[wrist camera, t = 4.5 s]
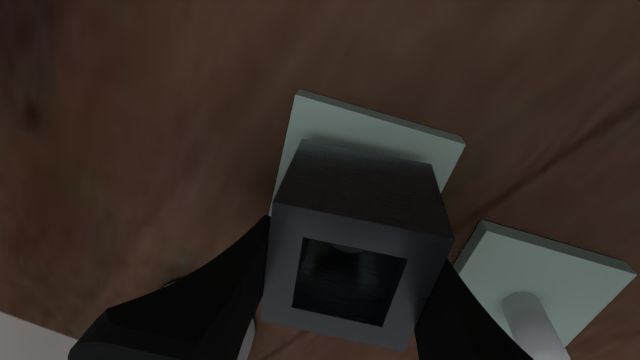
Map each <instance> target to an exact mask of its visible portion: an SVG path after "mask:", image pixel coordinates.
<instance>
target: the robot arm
mask: <svg viewBox="0 0 640 360" xmlns="http://www.w3.org/2000/svg"><path fill="white" fill-rule="evenodd" d="M270 220H271V216H268V215H265V216H263V217H262V218H261V219H260V220H259V221H258V222H257V223H256V224H255V225H254V226H253V227H252V228H251V229H250V230H249V231H248V232H247V233H246V234H244V235H243V236H242V237H241V238H240V239H239V240H237V241H236V242H235V243H234V244H233V245H231V246H230V247H229V248H228V249H226V250H225V251H224V252H222V253H221V254H220V255H218V256H217V257H216V258H214V259H213V260H211V261H210V262H208V263H207V264H205V265H204V266H202V267H200V268H199V269H197V270H196V271H194V272H192V273H190V274H189V275H187V276H185V277H183V278H181V279H179V280H178V281H176V282H174V283H172V284H170V285H168V286H165V287H163V288H161V289H159V290H156V291H154V292H152V293H149V294H147V295H144V296H142V297H139V298H136V299H134V300H131V301H128V302H125V303H122V304H119V305H116V306H113V307H110V308H107V309H106V310H105V312H104V313H103V314H101V315H100V316H99V317H98V318H97V319H96V320H95V321H94V323H93V324H92V325H91V326H90V327H89V328H88V329H87V331H86V332H85V333H84V334H83V335H82V337H81V338H80V339H79V340H78V341H77V343H76V344H75V345H74V346H73V347H72V348H71V350H70V352H69V355H68V360H237V358H238V355H239V352H240V349H241V346H242V343H243V340H244V337H245V335H246V332H247V330H248V327H249V325H250V323H251V321H252V318H253V316H254V314H255V312H256V309H257V307H258V305H259V303H260V300H261V298H262V296H263V290H264V280H265V270H266V260H267V250H268V240H269V230H270ZM414 330H415V337H416V343H417V349H418V356H419V360H534V359H533V358H532V357H531V356H530V355H528V354H527V353H526V352H525V351H524V350H523V349H522V348H521V347H520V346H519V345H518V344H517V343H516V342H515V341H514V340H513V339H512V338H511V337H510V336H509V335H508V334H507V333H506V332H505V331H504V330H503V329H502V328H501V327H500V326H499V325H498V324H497V322H496V321H495V320H494V319H493V318H492V317H491V316H490V314H489V313H488V312H487V311H486V310H485V308H484V307H483V306H482V305H481V304H480V302H479V301H478V300H477V299H476V297H475V296H474V295H473V294H472V292H471V291H470V290H469V288H468V287H467V286H466V284H465V283H464V281H463V280H462V279H461V277H460V276H459V275H458V273H457V272H456V270H455V269H454V267H453V266H452V265H451V263H450V262H449V260H448V259H447V258H446V260H445V263H444V265H443V267H442V269H441V271H440V274H439V276H438V278H437V280H436V282H435V285H434V287H433V289H432V291H431V293H430V296H429V298H428V300H427V302H426V304H425V307H424V309H423V311H422V313H421V315H420V318H419V320H418V322H417V324H416V326H415V329H414Z"/></svg>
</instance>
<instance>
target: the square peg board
mask: <svg viewBox="0 0 640 360" xmlns="http://www.w3.org/2000/svg"><path fill="white" fill-rule="evenodd" d="M453 267H454V269H455V270H456V272H457V273H458V275H459V276H460V277H461V279H462V280H463V281H464V283H465V284H466V286H467V287H468V288H469V290H470V291H471V292H472V294H473V295H474V296H475V297H476V299H477V300H478V301H479V302H480V304H481V305H482V306H483V307H484V308H485V310H486V311H487V312H488V313H489V314H490V316H491V317H492V318H493V319H494V320H495V321H496V322H497V324H498V325H499V326H500V327H501V328H502V329H503V330H504V331H505V332H506V333H507V334H508V335H509V336H510V337H511V338H512V339H513V340H514V341H515V342H516V343H517V344H518V345H519V346H520V347H521V348H522V349H523V350H524V351H525V352H526V353H527V354H528V355H530V356H531V357H532V358H533V359H534V360H571V359H570V357H569V355H568V353H567V351H566V349H565V347H566V346H567V345H568V344H569V343H570V342H571V341H572V340H573V339H574V338H575V337H576V336H577V335H578V334H579V333H580V332H581V331H582V330H583V329H584V328H585V327H586V326H587V325H588V324H589V323H590V322H591V321H592V320H593V319H594V318H595V317H596V316H597V315H598V314H599V313H600V312H601V311H602V310H603V309H604V308H605V307H606V306H607V305H608V304H609V303H610V302H611V301H612V300H613V299H614V298H615V297H616V296H617V295H618V294H619V293H620V292H621V291H622V290H623V289H624V288H625V287H626V286H627V285H628V284H629V283H630V282H631V281H632V280H633V279H634V278H635V277H636V276H637V274H636V273H635V272H634V271H633V270H632V269H631V268H630V267H629V265H628V264H627V263H626V262H625V261H621V260H618V259H615V258H611V257H608V256H604V255H601V254H597V253H594V252H591V251H587V250H584V249H580V248H577V247H574V246H570V245H567V244H563V243H560V242H556V241H553V240H550V239H546V238H543V237H539V236H536V235H533V234H529V233H526V232H522V231H519V230H515V229H512V228H509V227H505V226H502V225H498V224H495V223H492V222H488V221H485V220H481V221H480V223H479V224H478V226H477V228H476V229H475V231H474V232H473V234H472V236H471V237H470V239H469V241H468V242H467V244H466V246H465V247H464V249H463V250H462V252H461V254H460V255H459V257H458V259H457V260H456V262H455V263H454V265H453Z"/></svg>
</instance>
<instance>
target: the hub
mask: <svg viewBox="0 0 640 360" xmlns="http://www.w3.org/2000/svg"><path fill="white" fill-rule="evenodd" d="M454 241H455V238H454V235H453V231H452V228H451V225H450V222H449V219H448V215H447V212H446V209H445V206H444V203H443V199H442V196H441V193H440V190H439V187H438V183H437V180H436V177H435V174H434V171H433V167H432V164H428V163H423V162H418V161H413V160H408V159H403V158H398V157H393V156H388V155H383V154H378V153H373V152H368V151H362V150H357V149H352V148H347V147H342V146H337V145H332V144H327V143H322V142H317V141H312V140H307V139H301V141H300V144H299V146H298V148H297V150H296V152H295V154H294V156H293V159H292V161H291V163H290V165H289V167H288V169H287V171H286V174H285V176H284V178H283V180H282V182H281V184H280V186H279V189H278V191H277V193H276V195H275V197H274V199H273V202H272V210H271V220H270V230H269V240H268V250H267V260H266V270H265V280H264V290H263V300H262V311H261V321H266V322H270V323H275V324H280V325H284V326H289V327H293V328H298V329H302V330H307V331H311V332H316V333H320V334H325V335H329V336H334V337H338V338H343V339H347V340H352V341H356V342H361V343H365V344H370V345H374V346H379V347H384V348H388V349H393V350H397V351H402V352H404V351H405V348H406V346H407V344H408V342H409V340H410V337H411V335H412V333H413V331H414V329H415V326H416V324H417V322H418V320H419V318H420V315H421V313H422V311H423V309H424V307H425V304H426V302H427V300H428V298H429V296H430V293H431V291H432V289H433V287H434V285H435V282H436V280H437V278H438V276H439V274H440V271H441V269H442V267H443V265H444V263H445V260H446V258H447V256H448V254H449V252H450V250H451V247H452V245H453V243H454ZM331 243H335V244H339V245H344V246H349V247H354V248H358V249H363V250H364V251H361V252H358V253H346V252H343V251H340V250H338V249H336V248H335V247H334V246H333V245H332V244H331Z"/></svg>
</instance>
